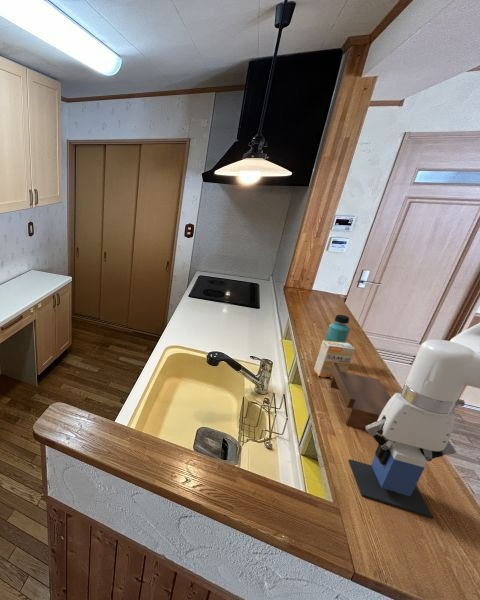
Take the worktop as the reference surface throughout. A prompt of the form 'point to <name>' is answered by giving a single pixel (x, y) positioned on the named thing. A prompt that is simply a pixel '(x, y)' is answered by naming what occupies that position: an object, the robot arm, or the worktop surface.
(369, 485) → the mat
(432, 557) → the worktop surface
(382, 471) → the box
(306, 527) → the worktop surface
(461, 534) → the worktop surface
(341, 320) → the beverage bottle
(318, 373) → the supplement box
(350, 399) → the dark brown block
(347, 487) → the worktop surface
